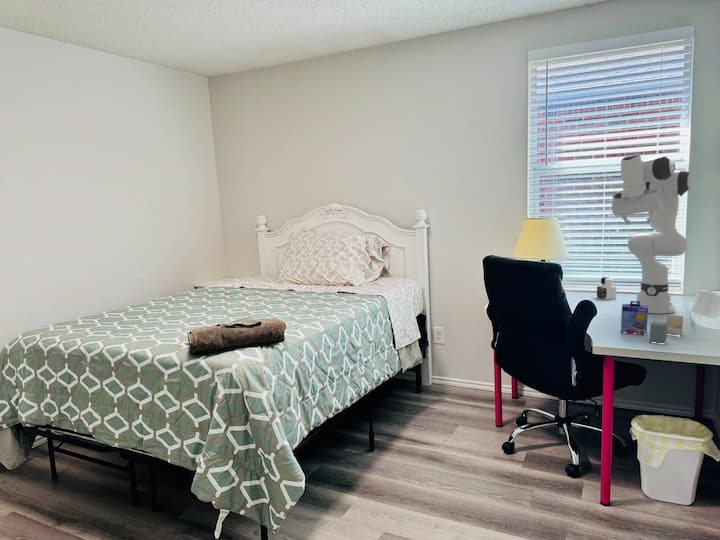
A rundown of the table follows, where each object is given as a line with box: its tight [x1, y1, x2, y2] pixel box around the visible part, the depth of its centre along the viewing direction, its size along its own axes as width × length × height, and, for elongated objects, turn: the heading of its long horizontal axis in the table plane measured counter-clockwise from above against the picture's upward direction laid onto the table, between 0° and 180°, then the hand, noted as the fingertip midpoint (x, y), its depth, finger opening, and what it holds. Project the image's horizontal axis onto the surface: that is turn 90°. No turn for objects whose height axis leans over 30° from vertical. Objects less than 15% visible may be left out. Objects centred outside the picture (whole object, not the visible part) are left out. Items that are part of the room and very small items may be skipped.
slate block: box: [649, 320, 668, 344], centre depth 201 cm, size 5×5×8 cm
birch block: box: [666, 314, 684, 336], centre depth 210 cm, size 5×5×8 cm
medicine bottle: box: [596, 276, 617, 301], centre depth 282 cm, size 7×7×12 cm
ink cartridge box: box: [620, 300, 649, 335], centre depth 215 cm, size 10×6×14 cm, turn 62°
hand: (638, 223), depth 220 cm, fingers open, 8 cm apart
